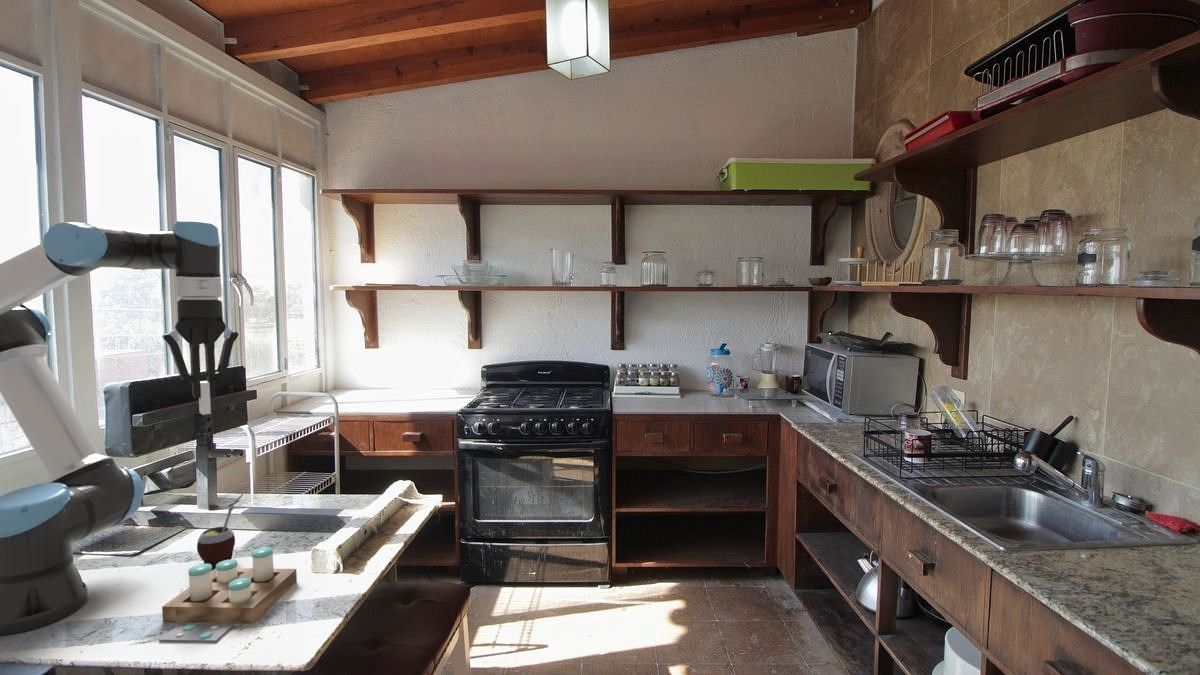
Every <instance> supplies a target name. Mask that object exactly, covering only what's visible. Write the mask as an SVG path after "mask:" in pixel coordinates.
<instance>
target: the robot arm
mask: <svg viewBox="0 0 1200 675" xmlns="http://www.w3.org/2000/svg"><path fill="white" fill-rule="evenodd" d="M172 225H173V227H172V231H151V230H149V231H148V230H140V229H131V228H124V227H122V228H121V227H115V226H114V227H112V226H106V225H98V224H91V223H87V222H81V221H80V222H78V221H77V222H75V221H74V222H69V221H68V222H67V221H64V222H63V221H62V222H57V223H54V224H53V225H51V226H50V227H48V230H47V232H46V233H44V235H43V238H42V242H41V243H40V244H39V245H36V246H35V247H32V248H29V249H28V250H26V251H23V252H22V253H20V254H17V255H15V256H13V257H12V258H10V259H7V260H6V261H3V262H1V263H0V394H1V397H2V399H3V400H4V401H5V403H6V404H7V406H8V408H9V410H10V411H11V413H12V415H13V417H14V418H15V420H16V421H17V424H18V425H19V427H20V429H21V430H22V432H23V434H24V435H25V437H26V439H27V440H28V442H29V444H30V446H31V447H32V449H33V451H34V452H35V453H36V457H38V459H39V461H40V462H41V465H43V467H44V469H45V472H47V474H48V477H47V479H46V481H45V483H38V484H33V485H30V486H29V487H22V488H17V489H15V490H12V491H9V492H7V493H4V494H3V495H1V496H0V636H5V635H11V634H17V633H22V632H26V631H31V630H34V629H37V628H41V627H44V626H47V625H50V624H52V623H56V622H58V621H60V620H61V619H64V618H66V617H68V616H70V615H72V614H74V613H76V612H77V611H78V610H80V609H82V607H83V606H85V605H86V603H87V602H88V599H89V594H88V586H87V584H86V583H85V582H84V581H83V579H82V577H81V574H80V572H79V570H78V568H77V567H76V565H75V563H74V551H73V550H74V548H73V546H74V544H75V543H77V542H80V541H82V540H84V539H86V538H88V537H91V536H92V535H94V534H97V533H99V532H102V531H104V530H107V529H108V528H113V527H116V526H117V525H118V524H120V523H122V522H124V521H125V520H127V519H129V518H131V517H132V516H133V515H134V514H135V513H136V512H138V510H139V509H140V507H141V506H142V502H143V499H144V495H145V488H144V487H145V486H144V484H143V480H142V478H141V476H140V475H139V474H138V473H137V471H135V469H132V468H131V469H130V468H129V467H127V466H118V465H117V463H116V461H115V460H114V457H112V456H108V455H105V454H101V453H100V452H99V450H98V449H97V447H96V446H95V444H94V442H93V440H92V438H91V436H90V435H89V433H88V432H87V429H86V428H85V427H84V425H83V423H82V422H81V419H80V418H79V416H78V414H77V412H76V411H75V409H74V408H73V406H72V405H71V403H70V401H69V399H68V397H67V396H66V394H65V392H64V391H63V389H62V387H61V385H60V384H59V382H58V380H57V379H56V376H55V375H54V374H53V372H52V370H51V368H50V367H49V365H48V363H47V362H46V360H45V359H44V358H45V355H46V354H47V353H48V352H49V347H48V345H47V344H48V343H49V342H50V339H51V336H52V334H51V333H50V331H52V326H51V322H50V320H49V317H47V315H46V313H45V312H43V311H42V310H41V309H40V308H39V307H38V306H37V305H35V304H33V303H31V302H29V301H32V300H34V299H37V298H38V297H40V296H42V295H44V294H46V293H48V292H50V291H52V290H55V289H56V288H59V287H60V286H62V285H65V284H66V283H69V282H71V281H73V280H75V279H76V278H79V277H81V276H83V275H86V274H88V273H90V272H93V271H95V270H96V269H100V268H121V269H122V268H125V269H132V270H142V271H144V270H145V271H146V270H170V269H172V270H174V273H175V282H176V283H175V286H176V289H175V290H176V297H178V298H180V299H178V300H177V301H176V305H177V306H176V307H177V310H176V311H177V322H176V324H175V327H174V329H172V330H171V331H169V332H167V333H164V334H162V336H161V338H162V339H163V340H164V342H165V343H167V345H168V346H169V350H170V351H171V356H172V358H173V361H174V363H175V366H176V369H177V372H178V375H179V377H180V379H181V380H183V381H184V382H185V381H186V382H190V383H191V394H192V396H193V398H194V399H198V406H199V407H198V409H199V414H201V415H202V416H204V415H210V414H212V412H211V411H212V410H211V407H212V406H211V398H214V397H216V395H217V390H216V389H217V388H216V382H217V380H220V379H223V378H225V377H226V376H227V370H228V367H229V364H230V357H231V355H232V350H233V346H234V343H235V341H236V339H237V338H238V337H239V333H238V331H234V330H232V329H230V328H227V325H226V323H225V321H224V318H223V315H224V314H223V301H222V300H221V299H219V298H221V297H222V294H223V293H222V279H221V278H222V276H221V243H220V237H219V235H220V234H219V229H218V226H217V225H216V224H215V223H212V222H207V221H201V220H200V221H199V220H177V221H174V223H173V224H172ZM222 334H223V336H222V337H223V338H224V341H223V343H222V348H221V352H220V356H219V357H220V358H219V361H218V365H217V369H216V357H215V356H216V355H215V348H216V346H215V344H216V342H217V341H218V340H219V338H220V337H221V335H222ZM179 336H181V338H182V339H184V341H185V342H187V343H188V346H189V347H188V348H189V358H190V360H189V362H190V373H189V371H188V368H187V365H186V362H185V360H184V357H183V356H184V355H182V354H183V353H182V351H181V348H180V345H179V344H178V341H180V339H179V338H180V337H179ZM202 344H203V345H204V346H203V347H204V356H205V358H204V359H205V360H204V361H205V378H206V380H201V360H200V356H201V355H200V354H201V353H200V350H201V349H200V348H201V347H200V346H201V345H202Z"/></svg>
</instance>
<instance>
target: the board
mask: <svg viewBox="0 0 1200 675" xmlns="http://www.w3.org/2000/svg"><path fill="white" fill-rule="evenodd" d="M273 573H274V576H273V577H272V578H271V579H269V580H266V581H262V582H256V581H254V580H253V567H252V568H251V567H250V568H249V567H248V568H246V567H245V568H244V567H237V574H238V578H236V579H239V578H250V579H251V598H250V599H249V600H248V601H247V602H246V603H229V589H228V584H229V583H224V582H217V576H216V568H215V569H214V570H213V571H212V585H213V595H212V596H211V597H209V598H207V599H205V600H201V601H191V600H190V586H189V587H187V588H186V589H184V590H183V591H182V592H180V593H179V594H178V595H176V596H174V598H172V599H171V600H170V601H168V602H166V603H165V604H164V605H162V606H161V610H162V613H161V614H162V623H199V624H254V623H256V622H257V621H258V620H259V619H260V618H261V617H262V616H263V615H264V614H265V613H266V612H267V611H268V610H270V608H272V606H274V605H275V604H276V603H277V602H278V601H279V600H280V599H282V597H283V596H284V595H285V594H287V592H289V591H290V590H291V589H292V588H293V587H294V586H295V585H296V584H297V583H298V581H297V580H298V578H297V575H298V574H297V568H273ZM236 579H235V580H236Z"/></svg>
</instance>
